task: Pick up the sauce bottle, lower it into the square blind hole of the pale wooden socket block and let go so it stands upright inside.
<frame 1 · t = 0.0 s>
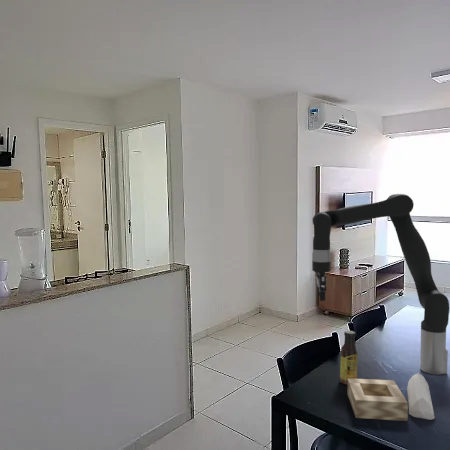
hand: (321, 298, 171), 29 cm above the table, tool pointing down, fingers open, 8 cm apart
socket block: (375, 406, 138), on the table
crystal: (419, 404, 140), on the table
sauce bottle: (348, 382, 157), on the table
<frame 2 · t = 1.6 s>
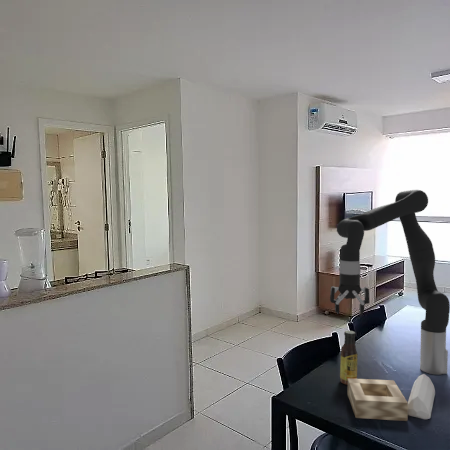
hand: (349, 313, 155), 27 cm above the table, tool pointing down, fingers open, 8 cm apart
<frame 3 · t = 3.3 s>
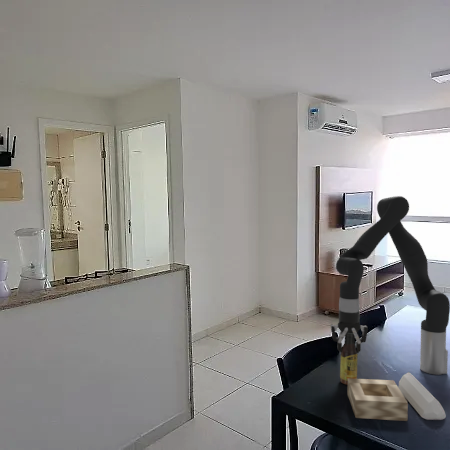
hand: (348, 351, 156), 12 cm above the table, tool pointing down, fingers closed on sauce bottle, 5 cm apart
sauce bottle: (348, 382, 157), on the table, touching gripper
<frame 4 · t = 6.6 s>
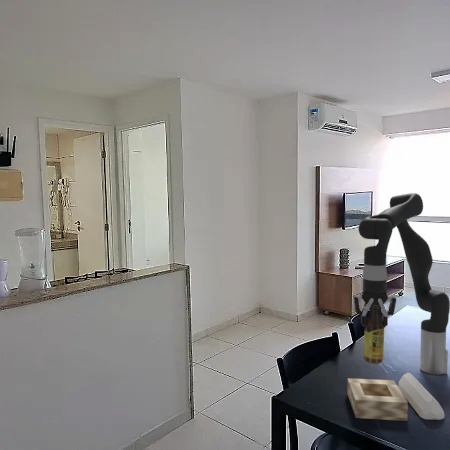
hand: (374, 326, 138), 28 cm above the table, tool pointing down, fingers closed on sauce bottle, 5 cm apart
sauce bottle: (373, 361, 138), point 15 cm above the table, touching gripper
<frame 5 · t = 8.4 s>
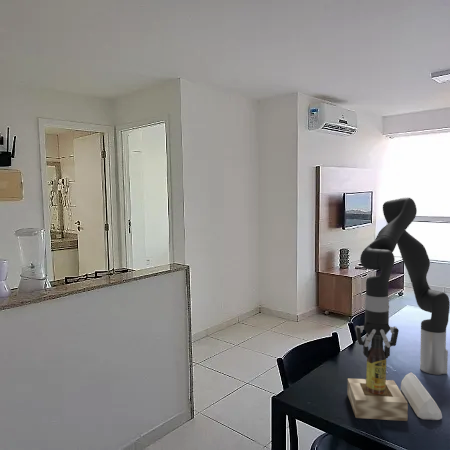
hand: (376, 356, 137), 17 cm above the table, tool pointing down, fingers closed on sauce bottle, 5 cm apart
sauce bottle: (375, 391, 138), point 5 cm above the table, touching gripper
when the fingers open (14 cm above the table, at t = 9.7 s): sauce bottle stays where it is, resting on socket block.
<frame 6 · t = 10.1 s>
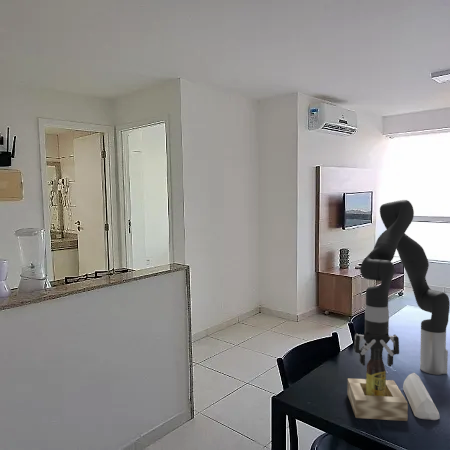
hand: (376, 365, 137), 15 cm above the table, tool pointing down, fingers open, 8 cm apart
sauce bottle: (375, 404, 138), point 1 cm above the table, touching socket block
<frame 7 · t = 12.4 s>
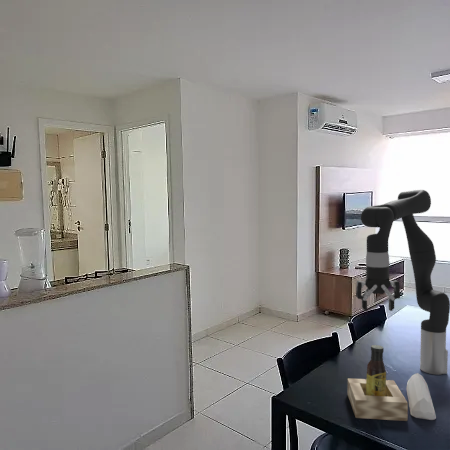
hand: (377, 310, 141), 32 cm above the table, tool pointing down, fingers open, 8 cm apart
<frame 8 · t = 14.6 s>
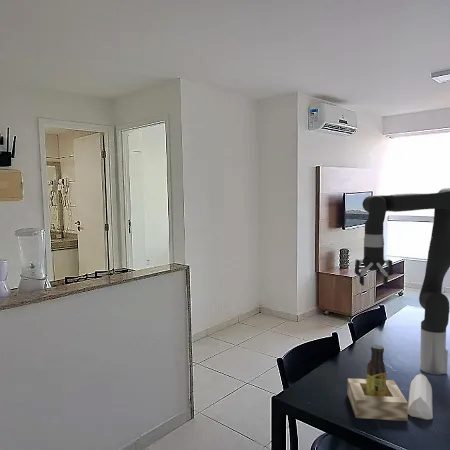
hand: (373, 285, 163), 36 cm above the table, tool pointing down, fingers open, 8 cm apart
at the end: sauce bottle 0.1 cm off-centre on the socket block, point 0.8 cm above the socket block's base; sauce bottle tilted 0°; the gripper is holding nothing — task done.
